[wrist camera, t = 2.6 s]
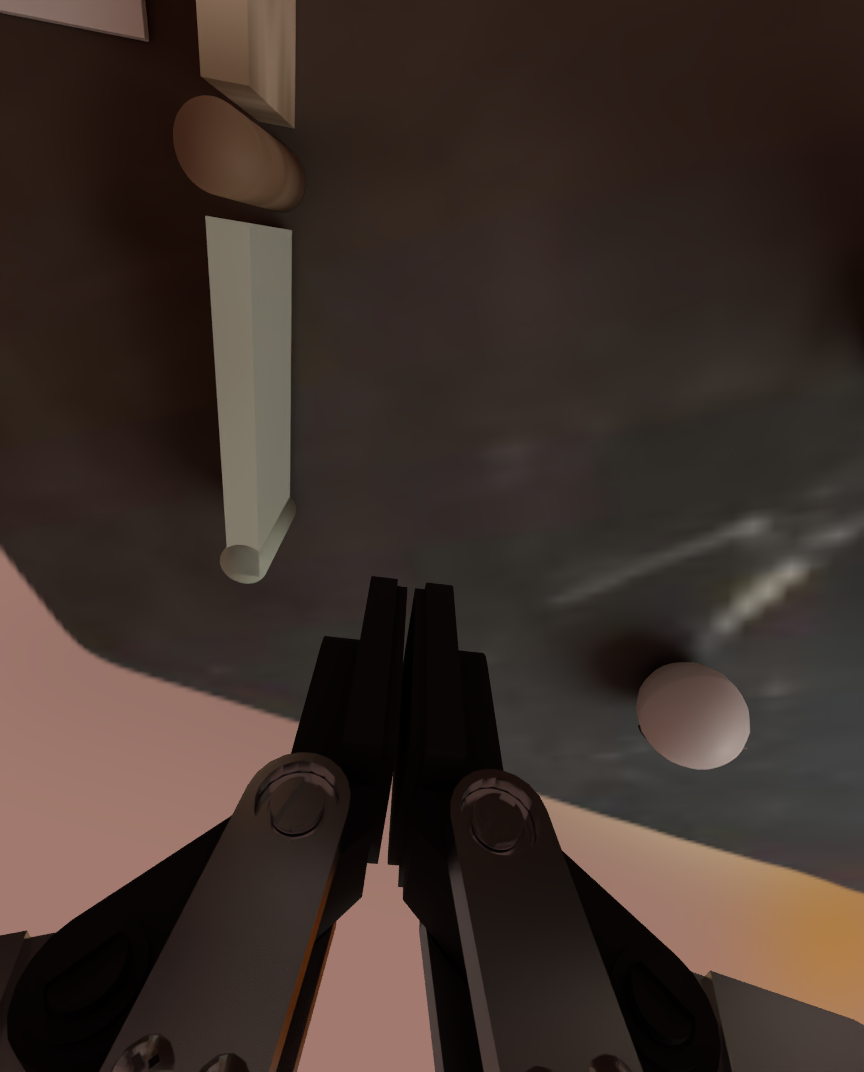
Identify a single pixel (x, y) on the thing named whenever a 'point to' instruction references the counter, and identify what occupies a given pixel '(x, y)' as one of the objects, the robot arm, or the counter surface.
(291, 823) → the robot arm
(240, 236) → the cream flat slab
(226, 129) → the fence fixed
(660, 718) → the pinkish brown egg
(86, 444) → the counter surface
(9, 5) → the card
